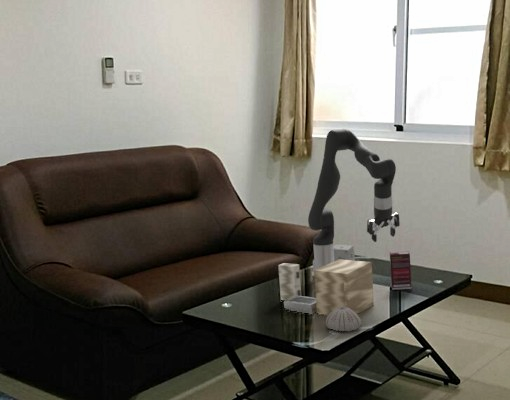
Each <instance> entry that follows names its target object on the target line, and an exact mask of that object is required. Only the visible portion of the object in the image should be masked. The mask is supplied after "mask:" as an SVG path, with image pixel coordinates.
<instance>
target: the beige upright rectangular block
mask: <svg viewBox="0 0 510 400" xmlns="http://www.w3.org/2000/svg"><path fill="white" fill-rule="evenodd" d="M300 271H301V269H300V264H297V263H286V262H283V263H281V264H278V276H279V277H278V279H279V280H278V281H279V294H280V295H279V296H280V301H281V300H285V301H286V300H288V299H290V298H292V297H294V296H296V295H297V296H302V287H301V286H302V284H301V274H300V273H301V272H300Z"/></svg>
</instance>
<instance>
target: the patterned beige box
mask: <svg viewBox="0 0 510 400" xmlns="http://www.w3.org/2000/svg"><path fill="white" fill-rule="evenodd" d="M372 264H373V263H372V261H364V260H363V261H361V260H355V261H353V260H343V259H339V260H337V261H335V262H332V263H330V264H328V265H326V266H323V267H321V268H319V269H316V270H314V274H312V275H311V280H312V281H311V282H312V285H313V284H314V287H315V289H313V290H312V296H313V298H316V308H317V312H316V314H317V313H318V314H317V315H321V314H324V315H323V316H328V315H329V314H330V313H331V312H332V311H334V309H336V308H338V307H348V308H350V309H351V310H353V311H354V312H355V313H356V314H357V315H358V314H361V313H362V312H364V311H365V310H367V309H370V307H373V306H374V303H375V302H374V284H373V283H374V282H373V265H372Z"/></svg>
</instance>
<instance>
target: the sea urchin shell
mask: <svg viewBox="0 0 510 400" xmlns="http://www.w3.org/2000/svg"><path fill="white" fill-rule="evenodd" d="M326 316H327V317H326V318H325V319H326V320H325V326H326V328H328V329H330V330H331V329H333V330H332V331H334V330H339V331H338V332H341V331H342V332H343V331H344V332H347V331H348V332H352V330H354V331H355V330H358V329H359V328H360V326H361V323H362V322H361V318H360V317H359V315H358V314H356V313H355V312H354V311H353V310H351V309H350V308H348V307H338V308H336V309H334V311H332V312H331V313H330V314H329V315H326Z"/></svg>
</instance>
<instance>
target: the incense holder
mask: <svg viewBox="0 0 510 400" xmlns="http://www.w3.org/2000/svg"><path fill="white" fill-rule="evenodd" d="M333 246H334V262H335V261H337V260H339V259H343V260H353V261H356V255H355V248H354V245H353V244H335V245H333Z"/></svg>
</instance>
